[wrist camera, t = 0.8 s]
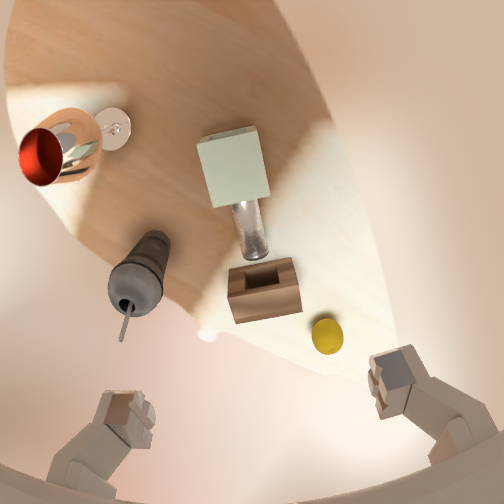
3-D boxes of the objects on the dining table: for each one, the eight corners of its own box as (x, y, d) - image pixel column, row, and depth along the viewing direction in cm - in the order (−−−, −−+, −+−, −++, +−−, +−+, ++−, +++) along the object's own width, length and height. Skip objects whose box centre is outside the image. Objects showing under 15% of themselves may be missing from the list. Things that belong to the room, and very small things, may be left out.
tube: (216, 142, 38) (213, 147, 35) (243, 136, 38) (244, 140, 34) (243, 249, 45) (243, 262, 42) (267, 245, 45) (269, 257, 42)
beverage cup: (169, 217, 45) (128, 300, 27) (185, 258, 48) (159, 352, 31) (127, 229, 45) (72, 311, 28) (144, 268, 49) (105, 358, 31)
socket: (228, 269, 49) (227, 298, 43) (291, 257, 49) (298, 284, 42) (236, 294, 52) (235, 324, 45) (295, 282, 51) (302, 311, 44)
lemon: (315, 307, 54) (325, 338, 47) (342, 312, 55) (353, 343, 48) (303, 329, 56) (310, 361, 49) (329, 334, 57) (338, 364, 50)
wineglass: (121, 90, 35) (49, 95, 19) (147, 138, 39) (89, 171, 23) (78, 121, 37) (-1, 147, 21) (103, 166, 40) (35, 213, 24)
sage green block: (203, 136, 39) (196, 144, 33) (254, 125, 39) (257, 130, 33) (217, 190, 43) (213, 208, 37) (266, 180, 42) (270, 196, 36)
